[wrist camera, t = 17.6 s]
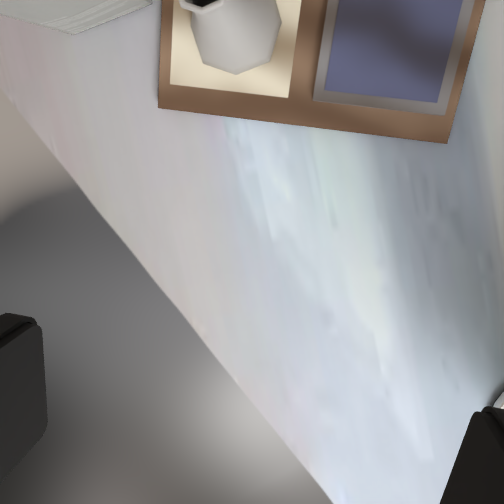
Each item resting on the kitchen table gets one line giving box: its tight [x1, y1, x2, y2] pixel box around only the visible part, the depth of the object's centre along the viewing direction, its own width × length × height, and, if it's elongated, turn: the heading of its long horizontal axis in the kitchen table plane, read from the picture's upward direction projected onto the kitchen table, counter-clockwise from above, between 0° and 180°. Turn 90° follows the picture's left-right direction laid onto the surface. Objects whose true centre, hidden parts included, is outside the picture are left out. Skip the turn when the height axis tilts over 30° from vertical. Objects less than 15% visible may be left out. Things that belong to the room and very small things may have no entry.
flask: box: [179, 0, 282, 75], centre depth 26 cm, size 7×7×10 cm
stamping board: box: [158, 0, 486, 144], centre depth 30 cm, size 14×24×2 cm, turn 83°
